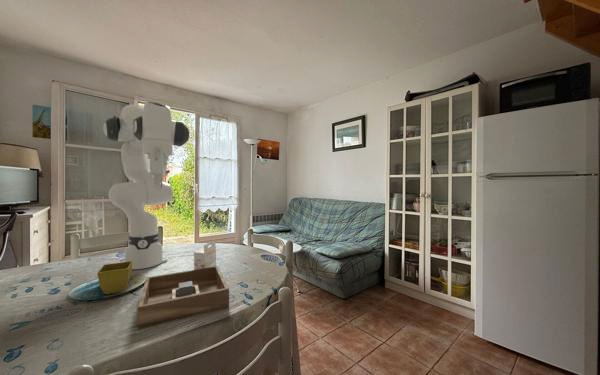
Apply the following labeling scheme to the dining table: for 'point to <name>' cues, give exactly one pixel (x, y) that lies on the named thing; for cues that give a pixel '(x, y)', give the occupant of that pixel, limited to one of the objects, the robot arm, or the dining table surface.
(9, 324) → the dining table surface
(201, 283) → the walled box
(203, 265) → the ink cartridge box
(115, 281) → the flower pot
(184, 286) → the plain grey cube
